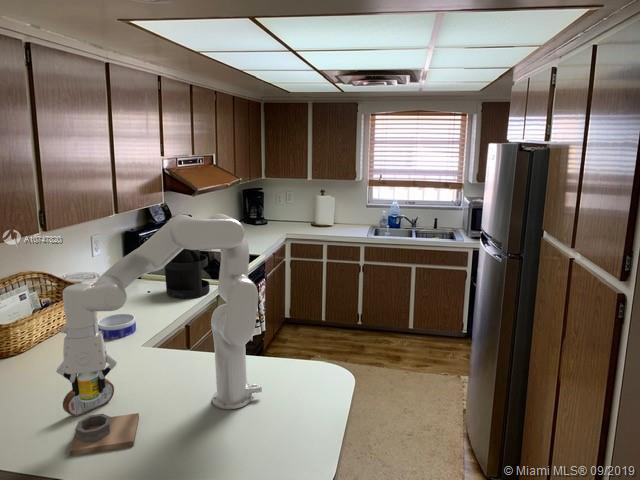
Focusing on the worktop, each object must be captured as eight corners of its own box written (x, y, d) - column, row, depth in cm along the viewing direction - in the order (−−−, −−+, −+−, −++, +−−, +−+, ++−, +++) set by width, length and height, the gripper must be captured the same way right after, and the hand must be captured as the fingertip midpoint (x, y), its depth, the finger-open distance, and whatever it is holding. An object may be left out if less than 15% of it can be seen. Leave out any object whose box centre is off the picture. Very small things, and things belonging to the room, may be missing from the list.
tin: (111, 397, 155) (109, 373, 153) (116, 400, 153) (114, 376, 151) (63, 418, 143) (60, 392, 142) (68, 421, 141) (65, 396, 140)
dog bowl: (144, 329, 211) (142, 316, 209) (115, 342, 197) (113, 328, 196) (120, 323, 218) (118, 311, 216) (90, 335, 204) (89, 322, 203)
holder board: (139, 417, 143) (137, 403, 142) (133, 445, 130) (132, 431, 129) (81, 425, 139) (79, 411, 138) (69, 455, 126) (67, 440, 125)
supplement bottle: (85, 392, 134) (82, 361, 132) (104, 392, 134) (101, 361, 132) (75, 402, 129) (71, 370, 127) (95, 403, 129) (91, 370, 127)
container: (169, 288, 269) (166, 244, 264) (210, 285, 273) (208, 243, 268) (164, 300, 248) (160, 254, 243) (208, 297, 252) (206, 252, 247)
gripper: (43, 339, 122) (51, 403, 125) (115, 332, 126) (121, 394, 130) (51, 328, 129) (59, 389, 132) (119, 321, 133) (124, 381, 137)
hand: (89, 391), depth 131 cm, fingers closed on supplement bottle, 5 cm apart
